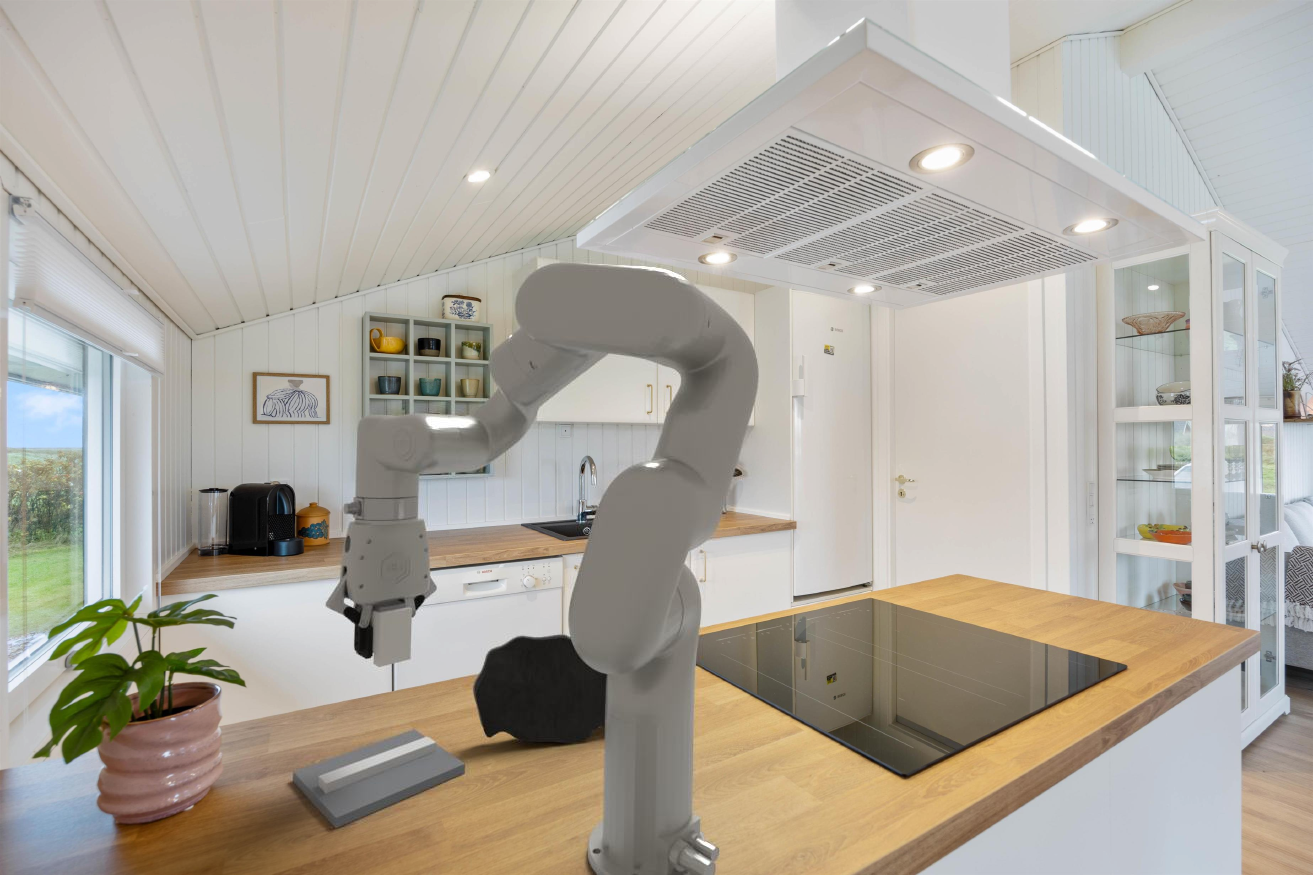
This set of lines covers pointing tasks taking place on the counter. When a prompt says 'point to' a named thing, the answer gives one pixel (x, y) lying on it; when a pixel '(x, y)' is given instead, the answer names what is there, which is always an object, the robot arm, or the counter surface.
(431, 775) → the mounting board
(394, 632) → the block
